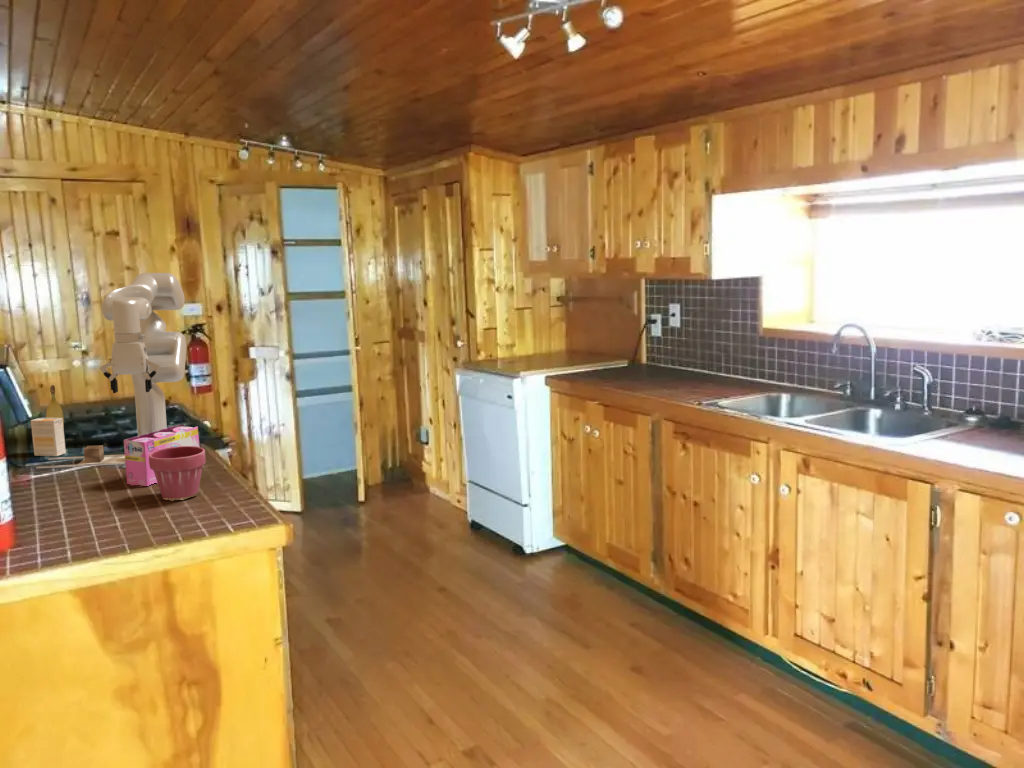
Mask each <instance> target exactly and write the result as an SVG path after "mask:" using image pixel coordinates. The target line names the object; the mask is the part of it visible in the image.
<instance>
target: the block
mask: <svg viewBox="0 0 1024 768" xmlns="http://www.w3.org/2000/svg"><path fill="white" fill-rule="evenodd" d="M104 455H105V453H104V445H103V444H102V445H87V446H86V447H85V448H83V456H84V458H83V460H85V463H98V462H101V461H102V460H104Z"/></svg>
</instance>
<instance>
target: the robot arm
mask: <svg viewBox="0 0 1024 768" xmlns="http://www.w3.org/2000/svg"><path fill="white" fill-rule="evenodd" d="M185 298H186V297H185V294H184V290H183V288H182V285H181V284H180V282H179V280H178V278H177V277H176V276H175V275H174V274H172V273H170V272H143V273H139V274H137V275H136V276H135V277H134V279H133V280H132V281H131V283H130V284H129V285H125V286H123V287H120V288H116V289H113V290H112V291H109V292H108V293H107V294H106V295H105V296H104V298H103V300H102V303H101V313H102V316H103V317H104V319H105V320H107V321H111V322H113V333H114V334H113V335H114V342H113V343H112V346H111V357H110V359H111V360H110V361H109V362H107V363H105V364H103V365H101V366H100V367H99V369H100V371H101V372H102V374H103V376H104V378H107V380H109V381H110V390H111V391H112V393H113V394H116V393H118V392H119V390H118V389H119V388H118V387H119V385H118V380H117V377H118V376H119V375H120V376H122V375H123V376H124V375H130V377H131V381H132V385H133V391H134V401H135V402H134V403H135V416H136V429H137V436H140V435H144V434H148V433H151V432H155V431H158V430H162V429H165V428H168V425H167V424H168V423H167V413H166V412H167V411H166V409H167V408H166V396H165V393H164V391H163V390H162V388H161V387H160V386H159V385H158V383H176V382H180V381H182V380H183V378H184V377H185V370H186V363H187V362H186V360H187V359H186V358H187V339H186V337H185V335H184V334H183V333H182V332H180V331H167V324H166V322H165V321H164V319H163V318H162V317H161V316H160V315H159V314H157V313H156V312H155V311H177V310H178V311H179V310H181V309H183V308H184V305H185V303H186V302H185V301H186V299H185ZM110 367H111V372H112V373H110V372H109V371H108V368H110Z"/></svg>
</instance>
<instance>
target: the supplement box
mask: <svg viewBox="0 0 1024 768" xmlns="http://www.w3.org/2000/svg"><path fill="white" fill-rule="evenodd" d="M30 427H31V436H32V446H33V447H32V448H33V454H34V456H37V457H38V456H41V457H58V456H61V455H64V454H67V453H66V452H67V450H66V441H65V431H64V428H63V419H62V418H46V417H38V418H35V419H30Z"/></svg>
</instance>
